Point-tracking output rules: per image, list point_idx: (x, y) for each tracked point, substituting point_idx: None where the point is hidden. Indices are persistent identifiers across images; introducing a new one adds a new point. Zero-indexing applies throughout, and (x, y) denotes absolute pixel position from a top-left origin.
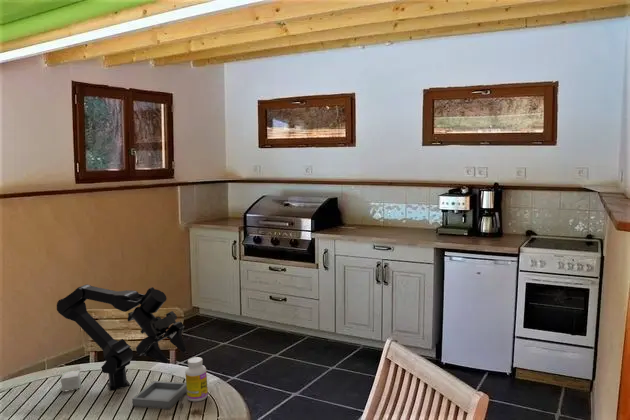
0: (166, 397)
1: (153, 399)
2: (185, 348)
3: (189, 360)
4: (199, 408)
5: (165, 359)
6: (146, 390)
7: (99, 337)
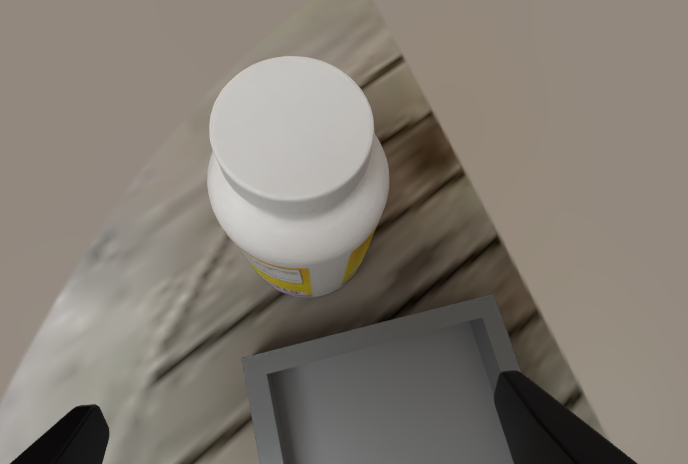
0: (399, 409)
1: None
2: (56, 431)
3: (331, 167)
4: (398, 161)
5: (553, 405)
6: None
7: None
